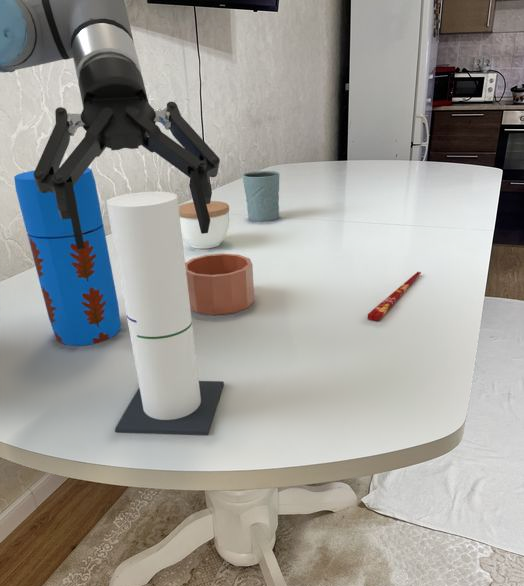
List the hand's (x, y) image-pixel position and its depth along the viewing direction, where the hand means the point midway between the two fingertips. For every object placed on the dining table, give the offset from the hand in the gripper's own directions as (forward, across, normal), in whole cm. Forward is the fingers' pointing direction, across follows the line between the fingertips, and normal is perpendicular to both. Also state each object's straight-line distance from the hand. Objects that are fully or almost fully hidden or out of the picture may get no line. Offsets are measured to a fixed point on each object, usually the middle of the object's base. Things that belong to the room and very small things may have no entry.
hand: (144, 234), depth 57 cm
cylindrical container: (+16, 0, -14) cm, 21 cm away
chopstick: (+2, -44, -28) cm, 53 cm away
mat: (+16, 0, -14) cm, 21 cm away
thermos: (-3, +9, -34) cm, 35 cm away
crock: (-6, -14, -36) cm, 39 cm away
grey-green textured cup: (-44, -41, -74) cm, 96 cm away
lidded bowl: (-31, -20, -61) cm, 72 cm away
